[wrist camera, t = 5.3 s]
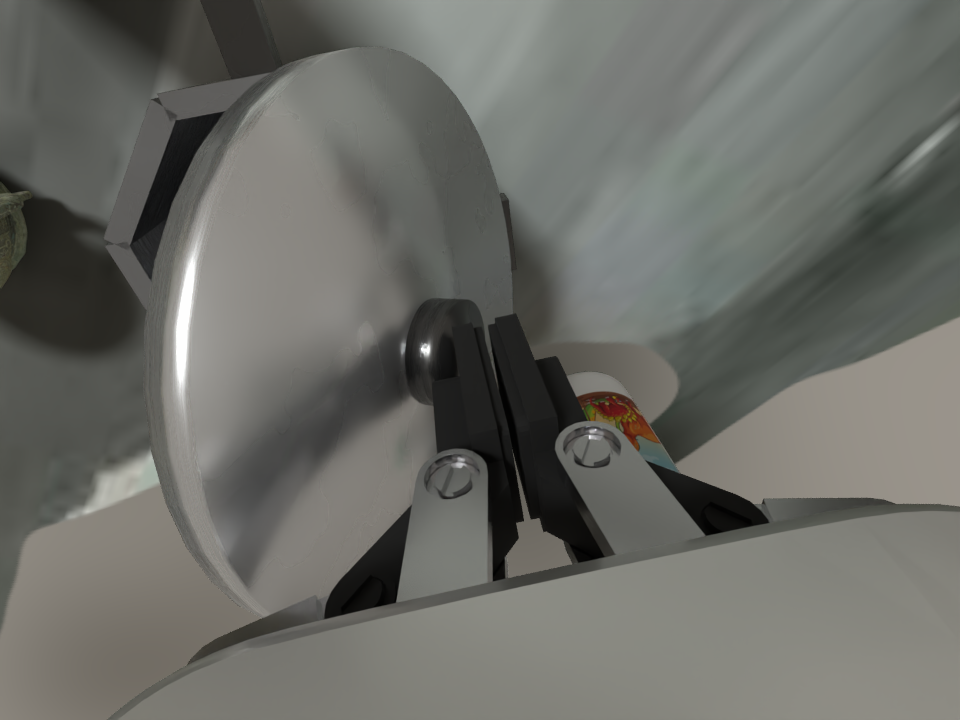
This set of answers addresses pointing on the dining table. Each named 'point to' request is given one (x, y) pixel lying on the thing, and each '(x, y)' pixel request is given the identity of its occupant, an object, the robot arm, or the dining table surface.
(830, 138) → the dining table surface
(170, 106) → the pot
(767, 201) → the dining table surface
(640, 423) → the milk bottle
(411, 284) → the lid
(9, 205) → the vessel
